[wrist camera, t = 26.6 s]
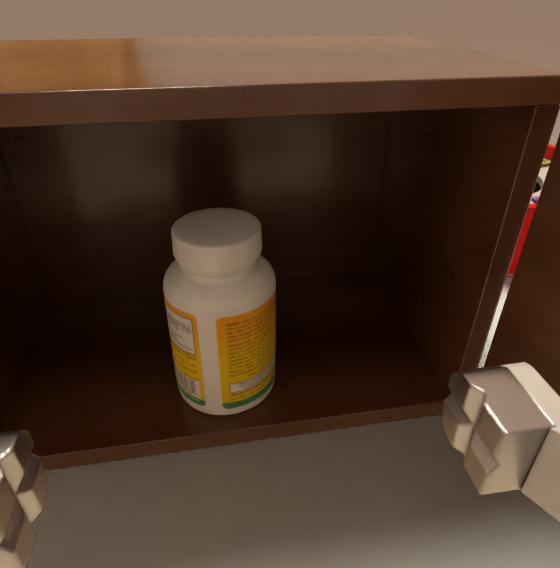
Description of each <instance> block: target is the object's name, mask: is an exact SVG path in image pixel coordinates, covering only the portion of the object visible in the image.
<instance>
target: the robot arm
mask: <svg viewBox="0 0 560 568" xmlns="http://www.w3.org/2000/svg"><path fill="white" fill-rule="evenodd" d="M448 387H449V388H450V390H451V391H452V393H451V394H450V395H449V396H448V397H447V398H446V399H445V400H444V401H443V406H442V410H441V417H442V425H443V428H444V431H445V434H446V436H447V438H448V440H449V442H450V444H451V445H452V447H454V448H455V449H457V450H458V451H460V452H461V453H463V454H464V461H463V466H464V468H465V470H466V472H467V473H468V475H469V477H470V478H471V480H472V482H473V484H474V485H475V487H476V489H477V491H478V492H479V494H480V495H484V494H491V493H498V492H505V491H511V490H518V489H521V492H522V493H523V494H524V495H526V496H527V497H528V498H529V499H531V500H532V501H533V502H534V503H536V504H537V505H538V506H540V507H541V508H542V509H543V510H545V511H546V512H547V513H548V514H550V515H551V516H552V517H554V518H555V519H556V520H557V521H559V522H560V397H559V396H558V394H557V393H556V392H555V391H554V390H553V389H552V388H551V387H550V386H549V384H548V383H547V382H546V381H545V380H544V379H543V378H542V377H541V376H540V374H539V373H538V372H537V371H536V370H535V369H534V368H533V367H532V366H531V365H529V364H527V363H526V362H521V363H514V364H506V365H501V366H491V367H484V368H477V369H470V370H463V371H456V372H454V373H453V374H452V375H451V376H450V380H449V383H448ZM33 444H34V441H33V439H32V437H31V435H30V433H29V431H28V430H15V431H6V432H0V568H28V564H29V560H30V556H31V552H32V549H33V545H34V541H35V537H36V534H35V532H34V530H33V528H32V526H31V522H32V521H33V520H34V519H35V518H36V517H37V516H38V515H39V514H40V513H41V512H42V510H43V506H44V502H45V498H46V489H47V475H46V470H45V466H44V463H43V461H42V459H41V457H39V456H37V455H35V454H33V453H31V450H32V447H33Z"/></svg>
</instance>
